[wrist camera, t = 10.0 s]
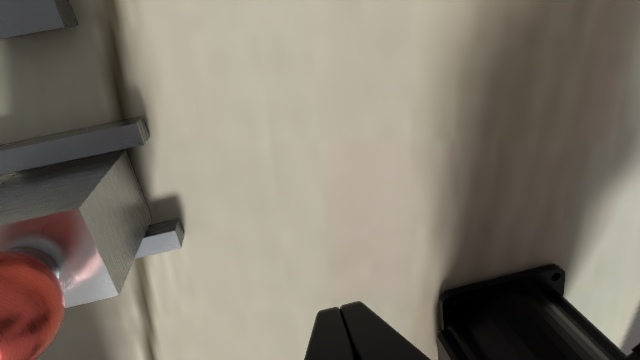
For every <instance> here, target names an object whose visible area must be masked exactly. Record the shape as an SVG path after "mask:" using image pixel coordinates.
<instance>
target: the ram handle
mask: <svg viewBox="0 0 640 360" xmlns="http://www.w3.org/2000/svg"><path fill="white" fill-rule="evenodd" d="M151 219H152V217H151V215H150V212H149V209H148V207H147V204H146V202H145V199H144V196H143V194H142V191H141V188H140V186H139V183H138V181H137V178H136V175H135V173H134V170H133V167H132V165H131V162H130V160H129V157H128V154H127V152H126V150H122V151H117V152H112V153H107V154H103V155H98V156H93V157H88V158H84V159H79V160H74V161H69V162H64V163H60V164H55V165H50V166H45V167H41V168H36V169H31V170H26V171H22V172H17V173H15V174H14V175H13V176H11V177H10V178H9V179H7V180H6V181H5V182H3V183H2V184H1V185H0V360H35V359H36V358H37V357H39V356H40V355H41V354H42V353H43V352H44V351H45V350H46V349H47V347H48V346H49V345H50V344H51V342H52V341H53V340H54V338H55V337H56V335H57V333H58V331H59V329H60V327H61V324H62V321H63V318H64V313H65V308H69V307H73V306H77V305H81V304H85V303H90V302H94V301H98V300H102V299H106V298H111V297H115V296H119V294H120V292H121V289H122V287H123V284H124V282H125V280H126V277H127V275H128V273H129V270H130V268H131V266H132V263H133V261H134V259H135V256H136V254H137V252H138V249H139V247H140V245H141V242H142V240H143V238H144V235H145V233H146V231H147V228H148V226H149V223H150V221H151Z"/></svg>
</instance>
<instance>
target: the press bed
mask: <svg viewBox="0 0 640 360" xmlns="http://www.w3.org/2000/svg"><path fill="white" fill-rule="evenodd" d="M75 25H78V23H77V21H76V18H75V15H74V13H73V10H72V7H71V5H70V2H69V0H0V39H5V38H10V37H16V36H21V35H26V34H32V33H37V32H43V31H48V30H53V29H59V28H64V27H70V26H75Z"/></svg>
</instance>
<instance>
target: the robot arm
mask: <svg viewBox="0 0 640 360" xmlns="http://www.w3.org/2000/svg"><path fill="white" fill-rule="evenodd" d="M553 274H554V275H553ZM564 282H565V271H564V270H563V269H562V268H560V267H559V266H558V265H556V264H550V265H546V266H543V267H539V268H535V269H531V270H527V271H523V272H519V273H515V274H511V275H507V276H503V277H499V278H495V279H491V280H487V281H483V282H479V283H475V284H471V285H467V286H463V287H459V288H455V289H451V290H448V291H445V292H444V293H442V294H441V296H440V297H439V309H440V324H441V331H439V332H438V334H437V347H438V360H640V343H638V344H637V345H636V346H635V347H633V348H632V349H631V350H632V351H633V352H632V353H630V354H629V355H628V356H627V355H625V354H624V353H623V352H622V351H621V350H620V349H619V348H618V347H617V346H616V345H615V344H614V343H613V342H612V341H610V340H609V339H608V338H607V337H606V336H605V335H604V334H603V333H602V332H601V331H600V330H599V329H597V328H596V327H595V326H594V325H593V324H592V323H591V322H590V321H589V320H588V319H587V318H586V317H585V316H583V315H582V314H581V313H580V312H579V311H578V310H577V309H576V308H575V307H574V306H573V305H572V304H571V303H569V302H568V301H567V300H566V299H565V298H564V297H563V294H564ZM451 299H453V300H452V301H450V302H448V301H449V300H451ZM304 360H431V359H429V358H428V357H427V356H426V355H425V354H423V353H422V352H421V351H420V350H419V349H417V348H416V347H415V346H414V345H413V344H411V343H410V342H409V341H408V340H407V339H405V338H404V337H403V336H402V335H401V334H399V333H398V332H397V331H396V330H395V329H393V328H392V327H391V326H390V325H389V324H387V323H386V322H385V321H384V320H383V319H381V318H380V317H379V316H378V315H377V314H375V313H374V312H373V311H372V310H371V309H369V308H368V307H367V306H366V305H365V304H363V303H362V302H360V301H357V302H353V303H349V304H345V305H342V306H341V307H340V309H339V308H338V307H333V308H329V309H325V310H321V311H319V312H318V313H317V316H316V319H315V323H314V327H313V330H312V334H311V337H310V341H309V344H308V348H307V351H306V355H305V359H304Z"/></svg>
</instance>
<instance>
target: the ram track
mask: <svg viewBox="0 0 640 360" xmlns="http://www.w3.org/2000/svg"><path fill="white" fill-rule="evenodd" d="M149 137H150V136H149V133H148V130H147V127H146V125H145V122H144V119H143V116H141V117H136V118H131V119H126V120H122V121H117V122H112V123H107V124H102V125H97V126H92V127H87V128H83V129H78V130H73V131H68V132H63V133H58V134H53V135H48V136H44V137H39V138H34V139H29V140H24V141H19V142H14V143H9V144H4V145H0V175H3V174H7V173H12V172H17V171H22V170H26V169H31V168H36V167H41V166H45V165H50V164H55V163H60V162H64V161H69V160H74V159H79V158H83V157H88V156H93V155H98V154H102V153H107V152H112V151H117V150H121V149H126V148H131V147H136V146H140V145H144V144H145V143H146V141H147V140H148V138H149ZM183 239H184V233H183V230H182V227H181V224H180V221H179V219H176V220H171V221H167V222H163V223H158V224H154V225H149V226H148V228H147V231H146V233H145V235H144V238H143V240H142V242H141V245H140V247H139V249H138V252H137V254H136V256H135V259H136V258H140V257H144V256H149V255H153V254H157V253H161V252H166V251H170V250H174V249H179V248H181V247H182V243H183Z"/></svg>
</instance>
